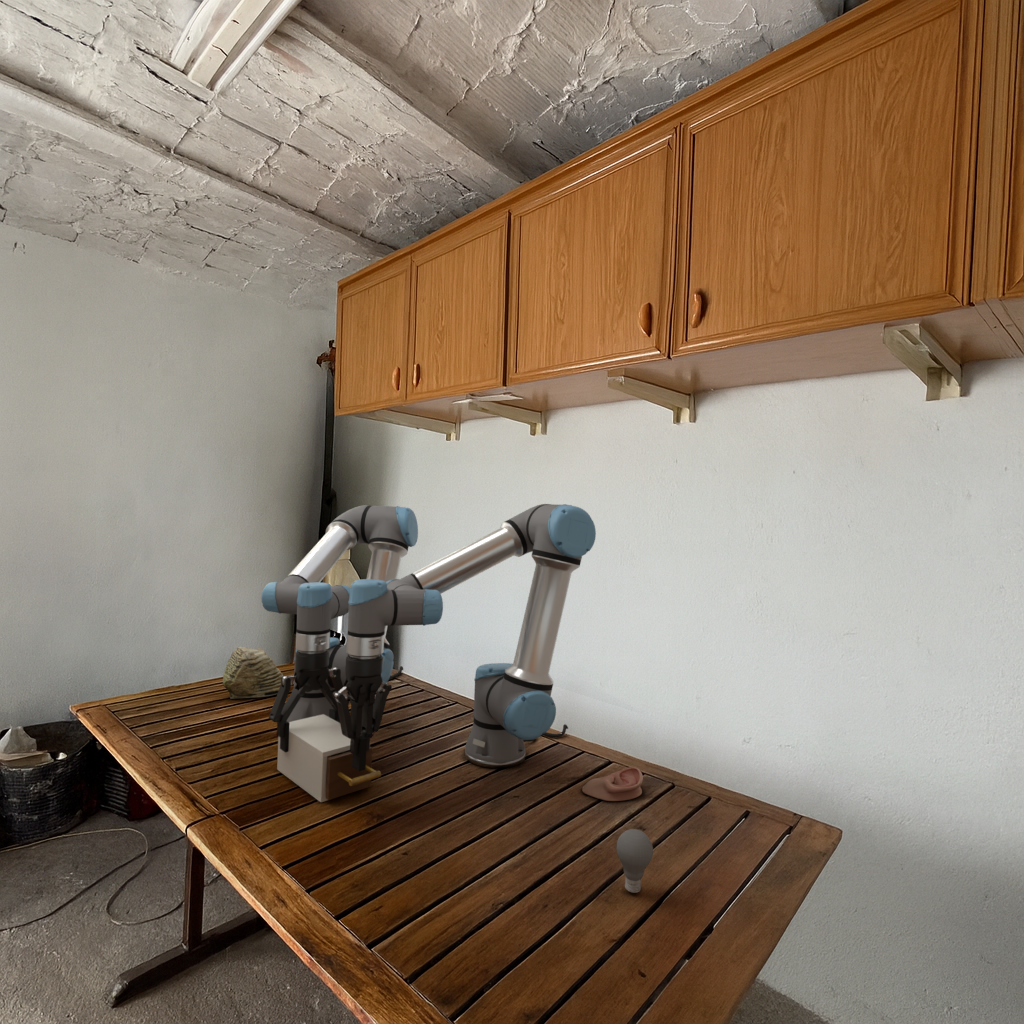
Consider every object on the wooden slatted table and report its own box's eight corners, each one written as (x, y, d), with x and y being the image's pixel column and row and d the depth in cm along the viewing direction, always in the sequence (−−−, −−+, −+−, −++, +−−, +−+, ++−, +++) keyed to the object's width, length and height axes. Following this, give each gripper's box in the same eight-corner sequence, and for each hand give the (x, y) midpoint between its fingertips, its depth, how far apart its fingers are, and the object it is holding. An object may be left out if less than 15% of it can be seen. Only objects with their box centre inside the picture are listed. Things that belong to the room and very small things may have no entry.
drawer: (386, 796, 133) (388, 756, 133) (343, 811, 126) (345, 769, 126) (326, 757, 151) (328, 722, 151) (286, 769, 144) (287, 732, 144)
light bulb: (610, 879, 108) (613, 822, 108) (644, 879, 109) (647, 822, 109) (619, 902, 102) (622, 840, 102) (655, 901, 103) (658, 840, 103)
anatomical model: (581, 779, 138) (585, 758, 149) (580, 797, 138) (585, 775, 149) (643, 787, 135) (643, 766, 147) (642, 806, 136) (642, 783, 147)
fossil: (218, 695, 195) (220, 647, 195) (278, 685, 208) (279, 640, 207) (228, 703, 189) (230, 653, 188) (289, 692, 201) (290, 645, 201)
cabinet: (368, 786, 139) (370, 739, 139) (320, 802, 131) (322, 752, 131) (321, 756, 154) (323, 714, 154) (276, 769, 146) (278, 724, 146)
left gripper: (269, 661, 135) (265, 762, 136) (365, 646, 152) (362, 736, 153) (254, 654, 141) (251, 751, 141) (349, 640, 158) (346, 727, 158)
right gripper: (346, 663, 124) (339, 783, 124) (401, 654, 133) (395, 766, 133) (327, 655, 129) (320, 770, 129) (381, 647, 138) (375, 754, 138)
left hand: (308, 743), depth 147 cm, fingers closed on cabinet, 11 cm apart
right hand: (358, 768), depth 131 cm, fingers closed
